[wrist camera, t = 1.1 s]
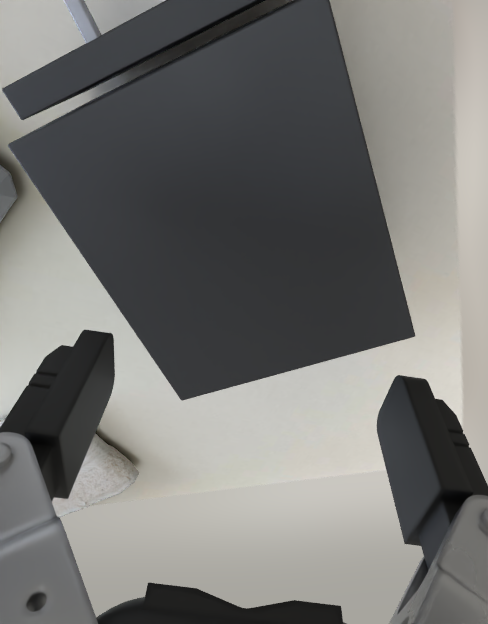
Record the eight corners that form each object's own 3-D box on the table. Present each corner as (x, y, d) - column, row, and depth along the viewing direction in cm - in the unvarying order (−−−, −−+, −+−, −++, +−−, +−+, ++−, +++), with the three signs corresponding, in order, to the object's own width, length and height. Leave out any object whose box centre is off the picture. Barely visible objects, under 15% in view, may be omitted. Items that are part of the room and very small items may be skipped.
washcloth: (-73, 453, 44) (-94, 480, 41) (53, 384, 38) (37, 412, 35) (21, 513, 49) (7, 541, 47) (144, 462, 43) (136, 490, 40)
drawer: (14, -45, 21) (-101, -68, 14) (240, -187, 18) (223, -297, 11) (191, 276, 30) (169, 350, 24) (358, 218, 27) (385, 283, 21)
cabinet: (90, 101, 25) (6, 145, 17) (305, -7, 22) (326, -14, 14) (203, 304, 32) (181, 401, 24) (376, 247, 29) (415, 337, 21)
